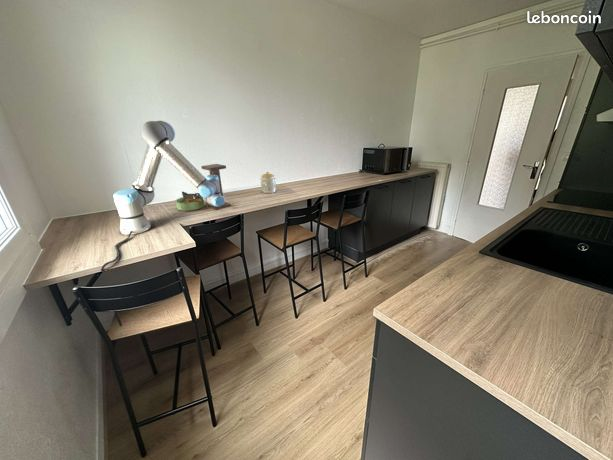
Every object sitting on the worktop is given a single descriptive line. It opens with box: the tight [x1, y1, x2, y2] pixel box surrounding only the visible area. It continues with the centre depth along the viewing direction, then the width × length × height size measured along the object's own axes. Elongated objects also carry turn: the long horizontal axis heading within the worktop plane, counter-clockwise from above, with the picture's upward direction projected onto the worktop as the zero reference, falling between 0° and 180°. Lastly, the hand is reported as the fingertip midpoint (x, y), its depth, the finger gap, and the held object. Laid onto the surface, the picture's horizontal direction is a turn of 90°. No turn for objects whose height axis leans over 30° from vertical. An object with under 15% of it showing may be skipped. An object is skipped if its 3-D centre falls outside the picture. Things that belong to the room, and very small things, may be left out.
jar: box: [260, 171, 277, 194], centre depth 222 cm, size 13×13×18 cm
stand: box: [201, 163, 232, 211], centre depth 183 cm, size 12×12×30 cm
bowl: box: [175, 196, 206, 212], centre depth 186 cm, size 20×20×6 cm
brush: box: [184, 198, 200, 203], centre depth 183 cm, size 17×6×4 cm, turn 48°
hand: (192, 191), depth 179 cm, fingers open, 13 cm apart
